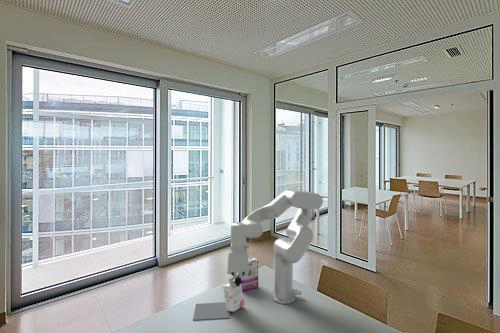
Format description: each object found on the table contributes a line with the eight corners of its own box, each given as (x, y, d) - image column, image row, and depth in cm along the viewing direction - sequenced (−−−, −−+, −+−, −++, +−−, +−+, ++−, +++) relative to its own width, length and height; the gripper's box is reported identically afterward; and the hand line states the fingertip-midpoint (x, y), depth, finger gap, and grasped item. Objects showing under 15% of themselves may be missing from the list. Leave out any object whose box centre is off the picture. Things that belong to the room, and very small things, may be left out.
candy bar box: (254, 284, 152) (254, 256, 151) (258, 287, 147) (258, 259, 147) (237, 288, 146) (237, 260, 146) (241, 292, 142) (241, 263, 142)
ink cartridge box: (237, 304, 130) (233, 274, 133) (244, 304, 128) (240, 274, 130) (226, 311, 124) (221, 279, 126) (233, 311, 121) (229, 279, 124)
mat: (229, 302, 132) (229, 301, 132) (230, 318, 119) (230, 317, 119) (195, 304, 130) (195, 303, 130) (192, 320, 117) (192, 319, 117)
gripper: (252, 245, 129) (252, 281, 130) (223, 245, 128) (222, 282, 128) (254, 250, 122) (253, 288, 122) (223, 251, 120) (222, 289, 121)
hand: (237, 285), depth 125 cm, fingers closed
